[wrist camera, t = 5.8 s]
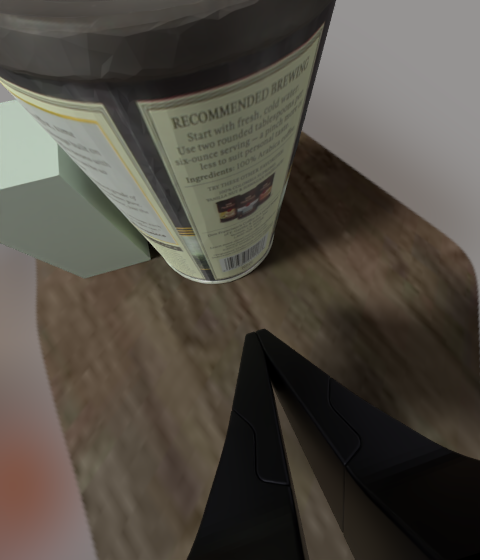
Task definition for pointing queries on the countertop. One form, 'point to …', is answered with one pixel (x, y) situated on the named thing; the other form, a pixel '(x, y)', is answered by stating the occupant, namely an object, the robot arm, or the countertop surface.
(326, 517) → the countertop surface
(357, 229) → the countertop surface
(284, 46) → the coffee can
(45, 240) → the tea tin
